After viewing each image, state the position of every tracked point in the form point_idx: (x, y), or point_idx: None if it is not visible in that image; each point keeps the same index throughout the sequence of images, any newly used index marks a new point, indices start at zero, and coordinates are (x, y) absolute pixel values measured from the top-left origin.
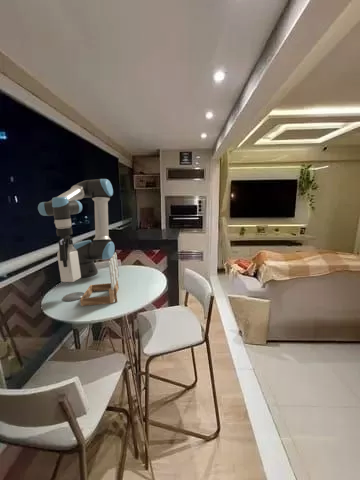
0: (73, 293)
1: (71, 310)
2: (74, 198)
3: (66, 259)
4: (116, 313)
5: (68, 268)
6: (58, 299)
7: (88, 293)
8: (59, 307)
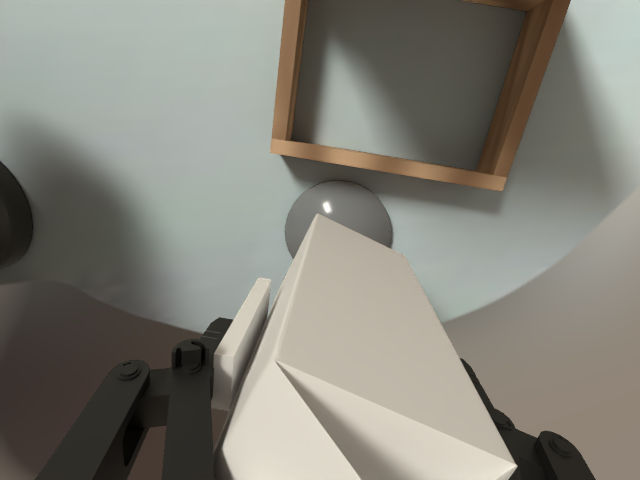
0: (298, 241)
1: (510, 224)
2: None
3: (514, 426)
4: None
5: None
6: None
7: (383, 156)
8: (441, 280)
